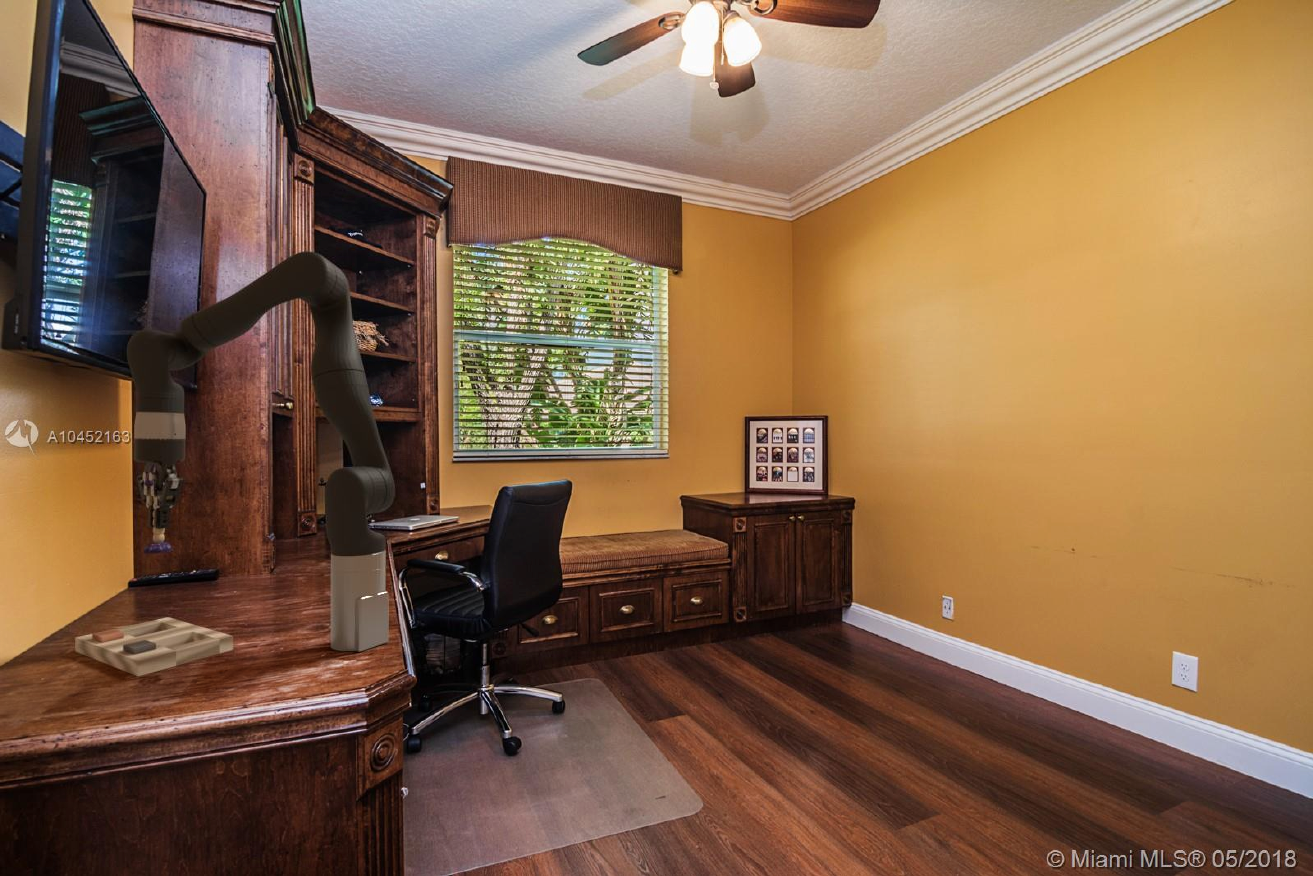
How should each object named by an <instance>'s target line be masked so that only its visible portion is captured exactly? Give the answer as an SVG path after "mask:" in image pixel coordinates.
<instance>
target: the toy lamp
mask: <svg viewBox="0 0 1313 876" xmlns="http://www.w3.org/2000/svg"><path fill="white" fill-rule="evenodd" d="M155 471H156V467H155V465H151V466H150V469H149V472H148V474H147V477H146V480H145V483H144V485H145V486H152V485H153V484H152V481H150V480H149V473H150V472H155ZM157 486H158V482H157ZM158 492H162V490H158ZM153 499H154V497H153ZM153 508H154V509H155V507H154V504H153ZM153 517H154V511H153ZM153 525H154V519H153ZM165 529H166V528H162V529H157V528H155V527H153V528H152V533H153V535H152V542H150V543H148V544H146V546H145V547H144V548H143V552H142V553H143V554H147V555H148V554H149V555H150V554H151V555H153V554H154V555H155V554H164V553H168V552H169V553H170V552H173V548H172V545H171V544H170V543H168V542H167V541H165V538H166V537H165V534H164V533H165Z"/></svg>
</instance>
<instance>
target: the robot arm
mask: <svg viewBox="0 0 1313 876" xmlns="http://www.w3.org/2000/svg"><path fill="white" fill-rule="evenodd" d="M297 299H300V300H301V301H303V302H304V303H306V304H307V306H308V307H309V311H310V313H311V314H310V315H311V318H312V320H313V324H314V329H315V337H316V338H315V346H314V349H313V352H312V353H313V354H312V358H311V364H310V374H311V375H310V376H311V380H312V381H311V382H312V386H313V391H314V395H315V400H316V403H317V406H318V408H319V409H320V411H321V412H322V414H323V415H324V417H325V418H326V420H327V421H328V422H329V424H330V425H331V426H332V427H333V428H334V429H335V430H336V432H337V433H338V434H339V436H340V438H341V439H342V440H343V441H344V443H345V444H346V447H347V449H348V452H349V454H350V458H351V462H352V466H346V467H345V466H344V467H340V468H336V469H334V470H333V471H332V472H331V474H329V476H328V478H327V480H326V483H325V487H324V510H325V511H324V512H325V516H324V517H325V532H326V537H327V540H328V543H329V546H330V648H331V649H332V650H335V651H339V652H362V651H365V650H369V649H372V648H374V647H377V646H380V645H383V644H385V643H389V627H390V626H389V625H390V624H389V608H390V607H389V604H390V601H389V592H388V591H386V561H387V559H386V558H387V557H386V555H387V554H386V548H387V547H386V543H387V541H386V537H385V535H384V534H382V533H379V532H376V531H373V530H371V528H370V527H369V525H368V515H372V514H379V513H381V512H385V511H387V510H388V509H389V508H391V506H392V504H393V502H394V499H395V496H396V487H395V480H394V475H393V473H392V469H391V467H390V464H389V460H388V458H387V455H386V452H385V449H384V446H383V443H382V440H381V436H380V433H379V430H378V426H377V422H376V418H375V415H374V413H375V412H374V410H373V406H372V402H371V397H370V389H369V385H368V381H367V376H366V372H365V369H364V365H363V361H362V356H361V352H360V347H359V344H358V338H357V335H356V332H355V327H354V320H353V313H352V312H353V310H352V303H351V302H352V301H351V292H350V284H349V281H348V279H347V277H346V275H345V273H344V272H343V271H342V270H341V269H340V268H339V267H337V266H336V265H335V264H334V263H332V262H331V261H330V260H328V258H325V256H323V255H322V254H319V253H317V252H314V251H309V250H306V251H299V252H297V253H295V254H293V255H291V256H289V257H287V258H285V259H284V260H283V261H281V262H280V263H278V264H277V265H275V266H274V267H272V269H269V270H268V271H267V272H265V273H264V274H262V275H260V276H259V277H258V278H256V279H255V280H253V281H252V282H250V283H249V284H247V285H246V286H244V287H242V288H241V289H239V290H238V291H236V292H235V293H234V294H232V295H230V296H228V297H226V298H224V299H222V300H220V301H217V302H216V303H213V304H211V305H209V306H207V307H205V308H202V309H201V310H199V311H196V312H194V313H192V314H191V313H190V315H187V316H185V317H184V318H183V319H182V320H181V322H180V325H179V326H180V327H179V328H180V329H179V331H176V332H173V333H168V332H163V331H160V330H155V329H151V328H150V329H146V328H145V329H141V330H138V331H136V332H135V333H134V334H132V336H130V339H129V341H128V343H127V347H126V357H127V363H128V366H129V370H130V374H131V376H132V380H133V383H134V386H135V388H136V412H135V413H136V415H135V420H134V431H133V432H134V437H133V438H134V439H133V441H134V442H133V443H134V444H133V460H134V462H137V463H145V464H144V469H143V472H142V475H137V477H136V482H137V485H138V489H139V493H140V497H141V502H142V504H143V505H146V508H147V509H148V527H149V528H152V529H153V527H155V528H157V529H162V528H165V529H169V528H170V526H171V509H172V508H173V506H176V505H178V501H179V498H180V495H181V491H182V488H183V485H184V477H178V473H177V469H176V468H177V467H176V463H178V462H179V463H180V462H184V461H185V460H186V433H187V432H186V428H187V427H186V426H187V425H186V419H185V389H184V387H183V386H182V385H180V384H179V383H176V382H175V381H174V380H173V378H172V375H171V372H170V371H180V370H182V369H186V368H188V367H190V366H192V365H195V364H196V363H198V361H200V360H201V359H202V358H203V357H205V356H206V355H208V354H209V353H210V352H211V351H212V350H214V349H216V348H218V347H220V346H223V345H225V344H227V343H229V342H231V341H234V340H235V339H238V338H239V337H241V336H244V335H245V334H246V333H248V332H249V331H250V330H252V328H254V327H255V325H256V324H257V323H258V322H259V321H260V319H261V318H262V317H263V316H264V315H266V313H268V312H269V311H270V310H272V309H273V308H276V307H277V306H280V305H281V304H285V303H288V302H291V301H294V300H297ZM151 465H155V467H156V471H155V472H150V473H149V480H150V481H152V484H153V485H152V486H145V485H144V483H145V480H146V477H147V474H148V472H149V469H150V466H151ZM157 482H158V486H157ZM158 490H162V492H158ZM153 497H154V499H153ZM153 504H154V507H155V509H154V508H153ZM153 511H154V517H153ZM153 519H154V525H153Z"/></svg>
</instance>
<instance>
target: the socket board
mask: <svg viewBox="0 0 1313 876" xmlns="http://www.w3.org/2000/svg"><path fill="white" fill-rule="evenodd" d="M74 641H75V643H74V649H75V651H74V652H76V653H78V654H80V655H83V656H86V657H89V658H91V659H93V660H96V661H97V662H101V663H103V664H106V665H107V666H111V667H114V668H116V669H118V670H121V671H123V672H126V673H128V674H131V675H133V676H136V677H141V676H145V675H148V674H152V673H155V672H158V671H162V670H166V669H170V668H173V667H177V666H179V665H180V666H181V665H184V664H187V663H191V662H194V661H198V660H202V659H205V658H208V657H212V656H215V655H220V654H223V653H226V652H230V651H233V650H234V635H231V634H228V633H224V632H221V631H218V630H213V629H211V628H206V627H203V626H200V625H196V624H193V623H190V622H185V621H183V620H179V619H175V618H172V617H168V616H167V617H163V618H159V619H154V620H150V621H144V622H140V623H135V624H131V625H127V626H122V627H118V628H113V629H112V628H111V629H109V630H104V631H100V632H94V633H91V634H90V633H89V634H86V635H82V636H78V637H75V638H74Z"/></svg>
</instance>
